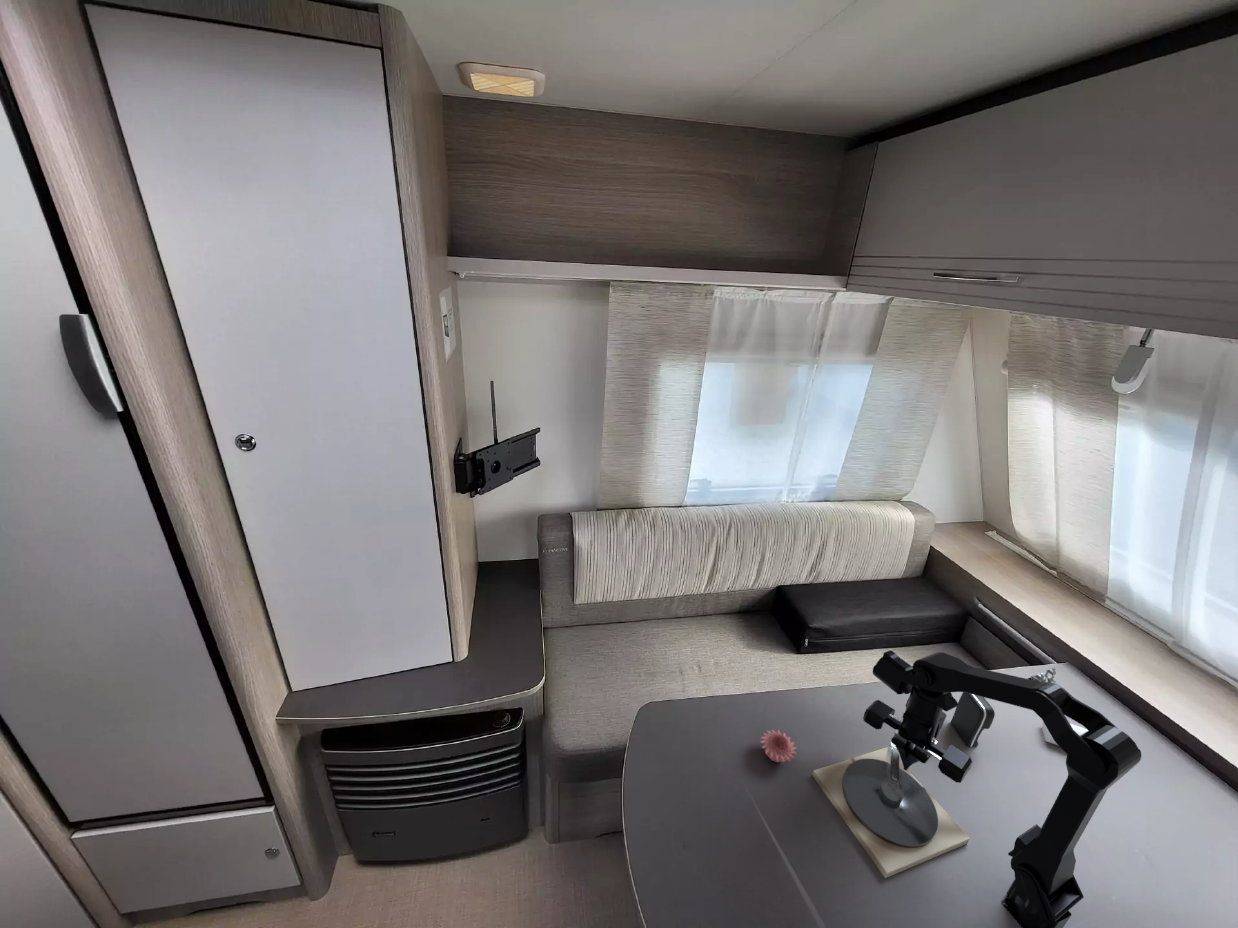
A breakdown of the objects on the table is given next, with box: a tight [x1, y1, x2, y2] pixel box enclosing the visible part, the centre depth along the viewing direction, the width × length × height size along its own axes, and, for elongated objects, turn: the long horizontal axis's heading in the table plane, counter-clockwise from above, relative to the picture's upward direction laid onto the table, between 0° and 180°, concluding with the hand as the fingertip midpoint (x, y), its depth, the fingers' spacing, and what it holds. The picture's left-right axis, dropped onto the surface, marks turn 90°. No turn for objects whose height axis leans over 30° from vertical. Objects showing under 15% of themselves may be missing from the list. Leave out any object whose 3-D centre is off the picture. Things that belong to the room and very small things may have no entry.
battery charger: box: [949, 692, 996, 748], centre depth 117 cm, size 7×4×11 cm, turn 0°
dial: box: [842, 741, 938, 848], centre depth 101 cm, size 19×17×5 cm
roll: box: [1041, 721, 1088, 747], centre depth 116 cm, size 6×12×6 cm, turn 63°
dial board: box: [811, 746, 971, 879], centre depth 101 cm, size 20×20×2 cm
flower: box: [759, 728, 798, 763], centre depth 110 cm, size 8×8×6 cm
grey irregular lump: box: [1032, 667, 1059, 685], centre depth 132 cm, size 9×9×8 cm
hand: (905, 768), depth 105 cm, fingers closed
